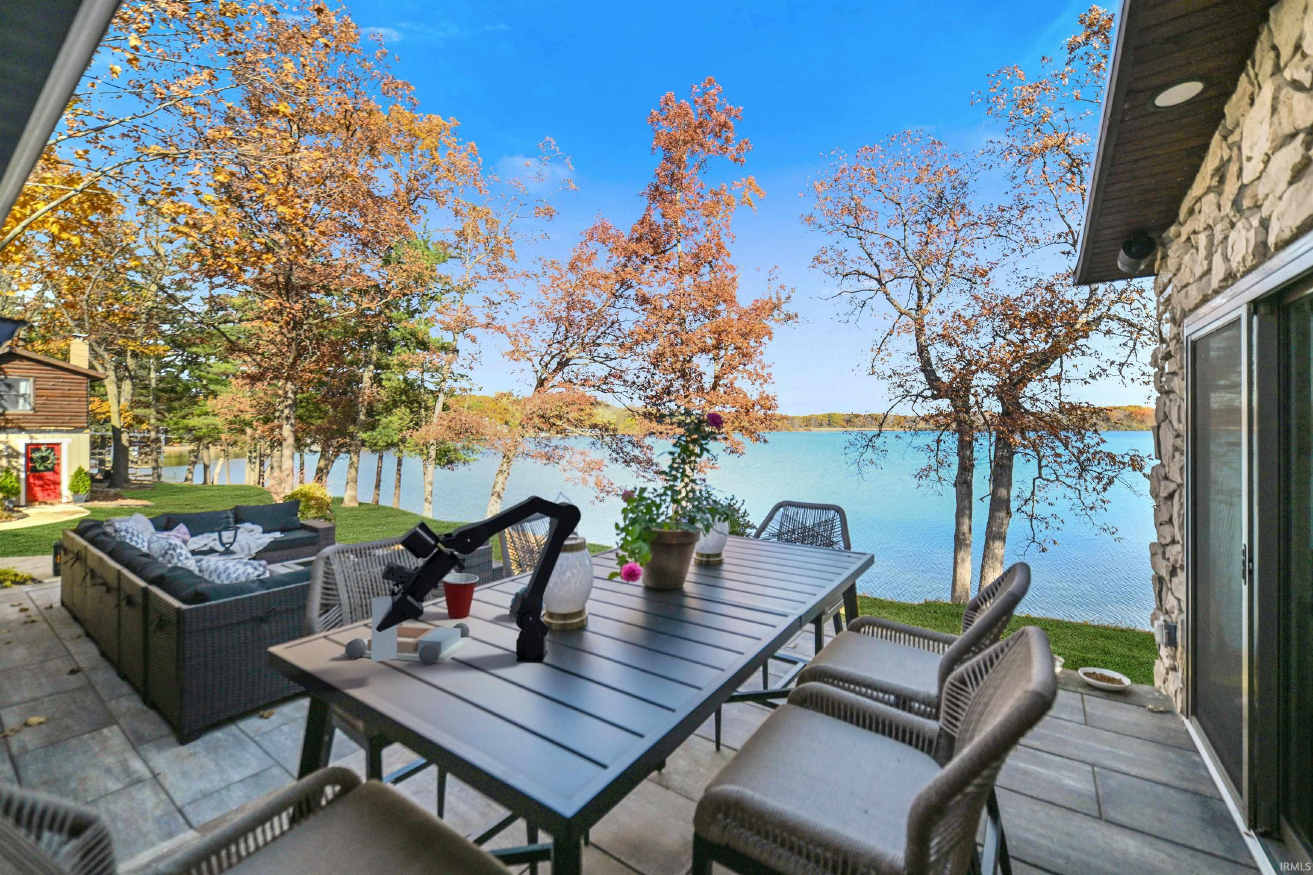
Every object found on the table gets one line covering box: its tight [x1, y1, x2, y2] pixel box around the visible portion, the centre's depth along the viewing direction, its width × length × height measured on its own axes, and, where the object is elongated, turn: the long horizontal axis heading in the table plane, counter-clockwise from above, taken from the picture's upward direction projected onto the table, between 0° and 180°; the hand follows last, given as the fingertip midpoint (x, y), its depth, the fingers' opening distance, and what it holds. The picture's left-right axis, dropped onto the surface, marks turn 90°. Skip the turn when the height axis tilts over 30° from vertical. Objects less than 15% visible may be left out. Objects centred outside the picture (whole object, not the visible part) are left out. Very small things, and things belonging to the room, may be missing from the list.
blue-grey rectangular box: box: [370, 595, 398, 663], centre depth 124 cm, size 5×5×12 cm
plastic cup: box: [441, 572, 480, 620], centre depth 170 cm, size 11×11×12 cm
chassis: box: [344, 622, 472, 665], centre depth 143 cm, size 26×17×4 cm, turn 83°
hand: (377, 626), depth 123 cm, fingers closed on blue-grey rectangular box, 5 cm apart
